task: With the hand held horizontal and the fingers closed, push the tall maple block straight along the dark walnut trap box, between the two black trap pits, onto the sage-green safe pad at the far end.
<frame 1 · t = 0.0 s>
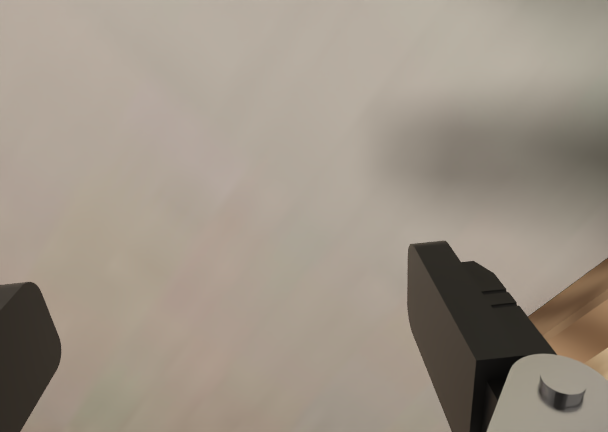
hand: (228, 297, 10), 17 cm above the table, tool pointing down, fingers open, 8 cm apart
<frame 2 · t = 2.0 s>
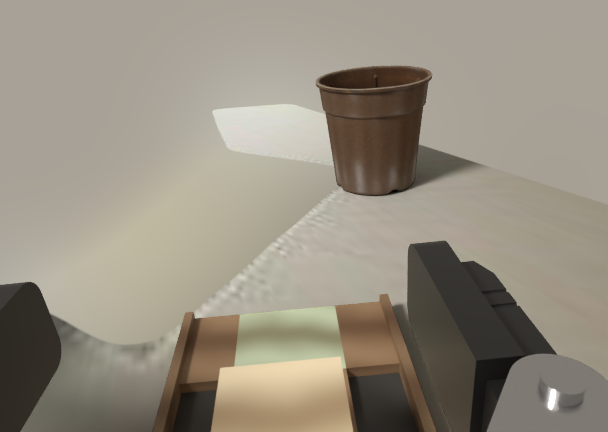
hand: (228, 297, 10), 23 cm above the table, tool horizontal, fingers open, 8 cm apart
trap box: (292, 421, 34), on the table
plant pot: (373, 181, 73), on the table
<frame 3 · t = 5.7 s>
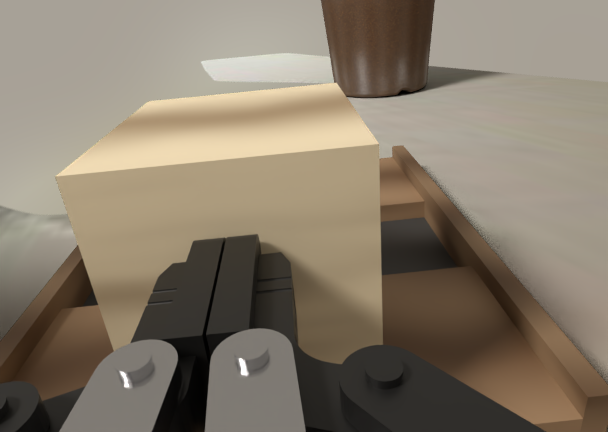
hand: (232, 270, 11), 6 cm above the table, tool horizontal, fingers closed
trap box: (271, 268, 24), on the table
plant pot: (378, 90, 63), on the table
block: (266, 333, 17), point 1 cm above the table
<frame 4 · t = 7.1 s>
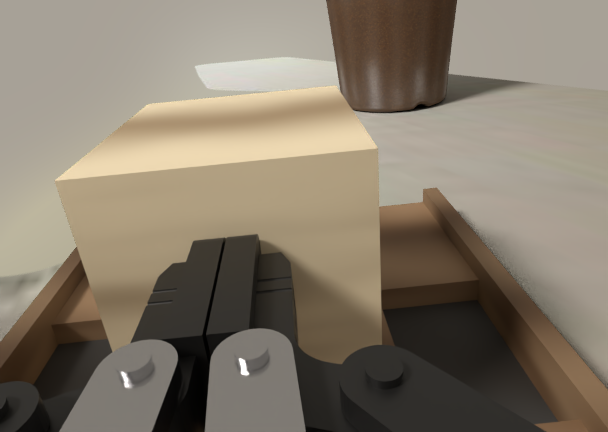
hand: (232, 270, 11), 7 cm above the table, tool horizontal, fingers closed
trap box: (268, 389, 16), on the table
plant pot: (390, 103, 56), on the table
block: (266, 336, 17), point 1 cm above the table, touching gripper, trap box
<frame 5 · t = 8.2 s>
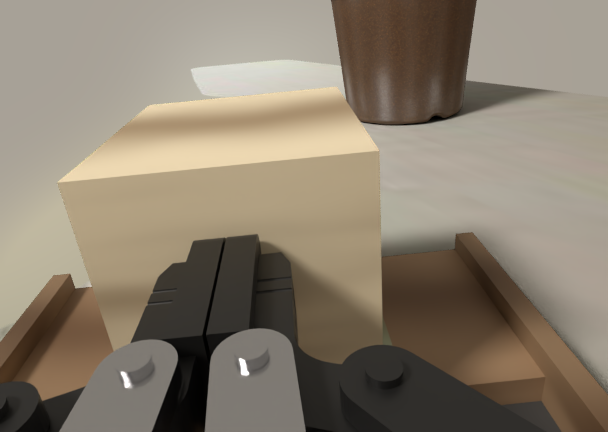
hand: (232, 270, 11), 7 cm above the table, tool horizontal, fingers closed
plant pot: (401, 113, 51), on the table
block: (266, 336, 17), point 1 cm above the table, touching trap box
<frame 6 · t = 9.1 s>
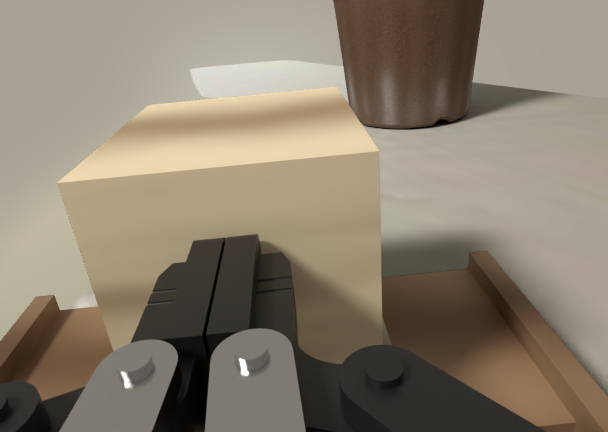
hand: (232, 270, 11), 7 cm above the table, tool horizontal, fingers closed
plant pot: (405, 116, 50), on the table
block: (266, 336, 17), point 1 cm above the table, touching gripper, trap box
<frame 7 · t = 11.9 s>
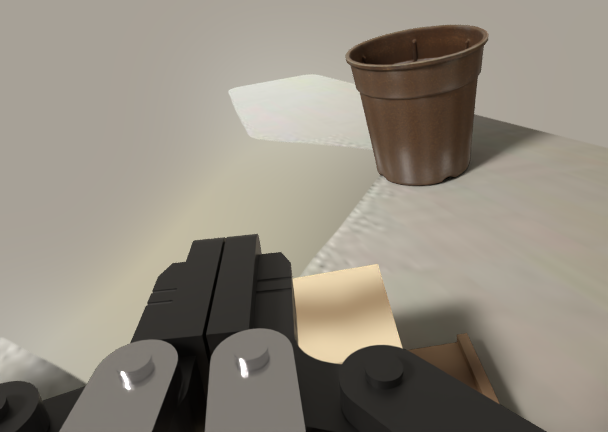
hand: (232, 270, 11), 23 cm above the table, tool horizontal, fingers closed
plant pot: (420, 166, 63), on the table
block: (350, 393, 33), point 1 cm above the table, touching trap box
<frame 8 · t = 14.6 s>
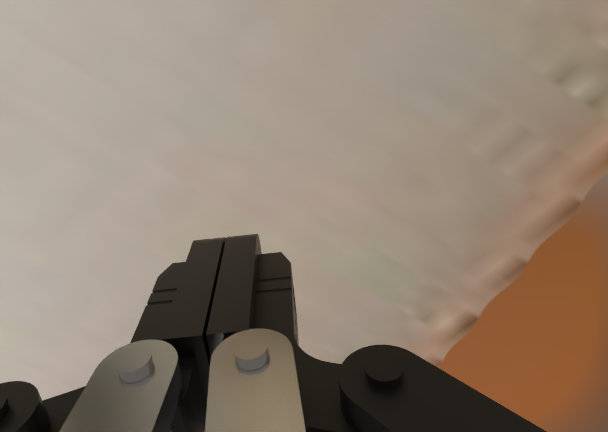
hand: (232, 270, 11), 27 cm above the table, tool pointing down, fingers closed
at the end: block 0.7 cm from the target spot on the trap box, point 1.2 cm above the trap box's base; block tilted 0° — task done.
